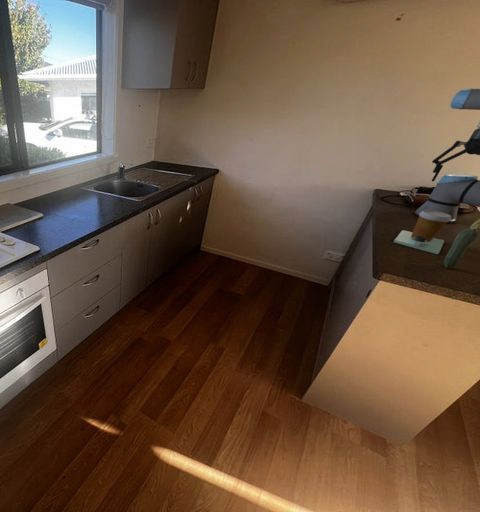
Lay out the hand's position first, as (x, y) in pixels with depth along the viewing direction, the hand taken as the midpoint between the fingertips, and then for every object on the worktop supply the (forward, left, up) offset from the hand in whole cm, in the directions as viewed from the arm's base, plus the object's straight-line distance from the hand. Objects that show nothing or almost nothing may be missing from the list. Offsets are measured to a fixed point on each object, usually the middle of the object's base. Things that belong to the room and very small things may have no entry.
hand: (455, 184), depth 121 cm
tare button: (+14, 0, -22) cm, 26 cm away
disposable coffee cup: (+5, 0, -24) cm, 25 cm away
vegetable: (+29, +10, -25) cm, 40 cm away
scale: (+7, 0, -25) cm, 26 cm away
